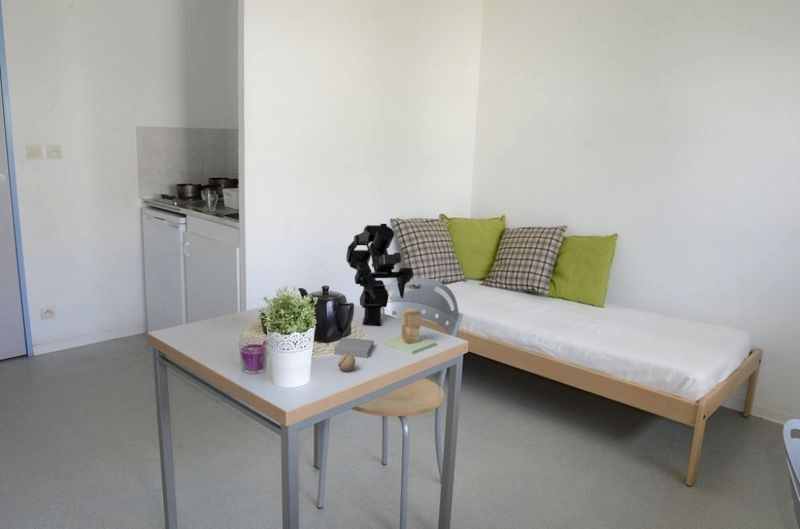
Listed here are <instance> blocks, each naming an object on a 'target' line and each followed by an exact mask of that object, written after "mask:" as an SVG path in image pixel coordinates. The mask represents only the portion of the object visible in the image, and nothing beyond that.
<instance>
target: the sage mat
mask: <svg viewBox="0 0 800 529" xmlns="http://www.w3.org/2000/svg"><path fill="white" fill-rule="evenodd" d="M401 337H402V334H400V335H397V336H394V337H391V338H387V339H384V340H383V341H382V342H383V343H382V344H383V345H385V346H388V347H392V348H393V347H394V348H393V349H396V350H400V351H402V352H405V353H408V354H411V355H414V354H417V353H419V351H420V352H422V351H425V350H427V348H428V349H429V348H433V347H436V346H437V342H436V341H433V340H430V339H427V338H425V337H422V336H419V343H414V344H407V343H405V342H403V341H401ZM435 345H436V346H435ZM432 346H433V347H432ZM424 349H425V350H424Z"/></svg>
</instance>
